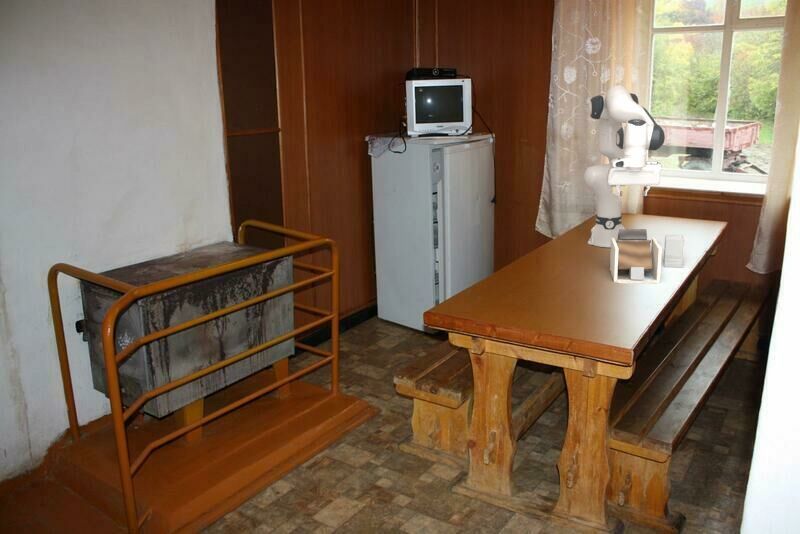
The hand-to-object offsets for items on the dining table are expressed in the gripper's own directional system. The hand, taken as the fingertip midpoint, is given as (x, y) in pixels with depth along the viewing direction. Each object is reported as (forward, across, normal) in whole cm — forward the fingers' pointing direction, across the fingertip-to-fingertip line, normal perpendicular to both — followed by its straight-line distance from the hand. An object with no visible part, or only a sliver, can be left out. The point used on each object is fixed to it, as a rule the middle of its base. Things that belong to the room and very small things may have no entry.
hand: (632, 195), depth 280 cm
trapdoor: (+28, -2, -7) cm, 29 cm away
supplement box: (+34, -21, -15) cm, 42 cm away
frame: (+33, -2, +2) cm, 34 cm away
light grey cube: (+28, -2, +8) cm, 29 cm away
